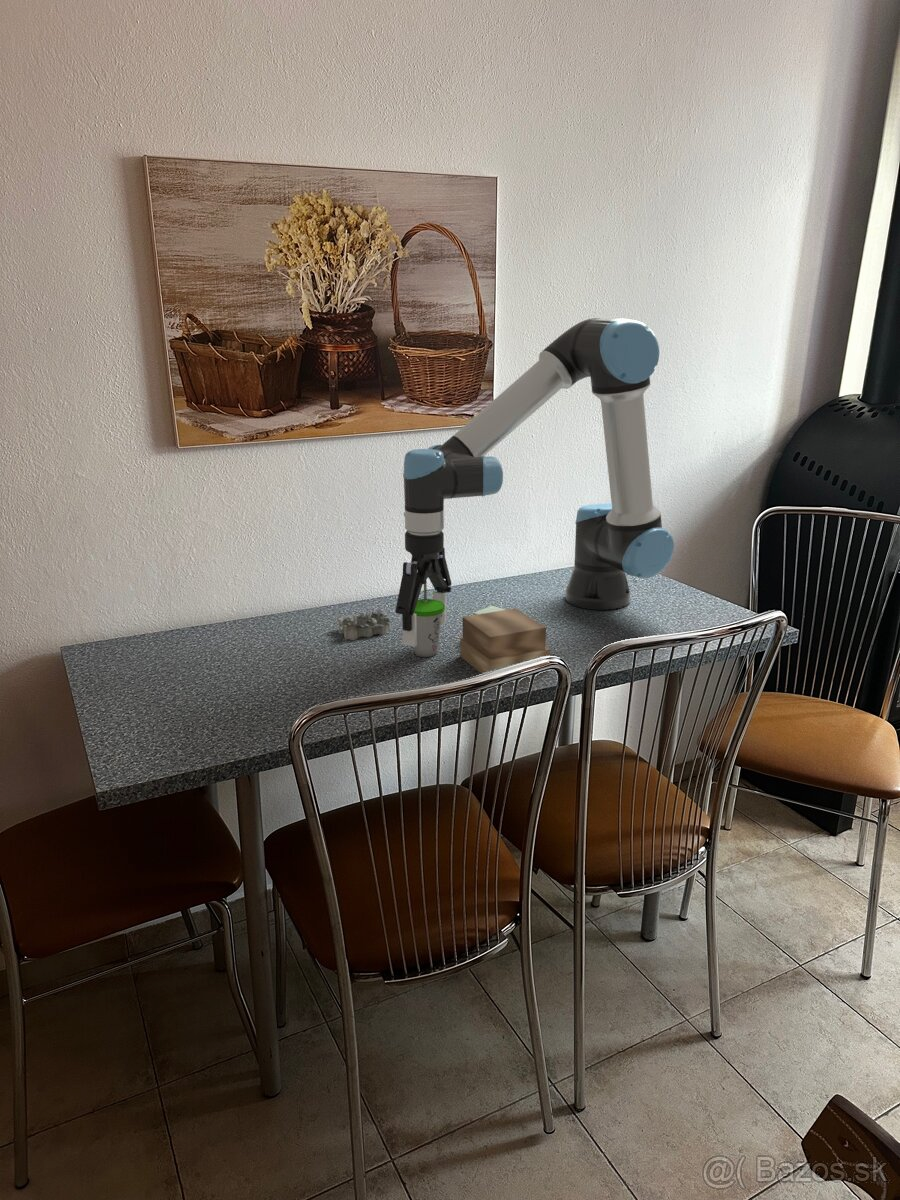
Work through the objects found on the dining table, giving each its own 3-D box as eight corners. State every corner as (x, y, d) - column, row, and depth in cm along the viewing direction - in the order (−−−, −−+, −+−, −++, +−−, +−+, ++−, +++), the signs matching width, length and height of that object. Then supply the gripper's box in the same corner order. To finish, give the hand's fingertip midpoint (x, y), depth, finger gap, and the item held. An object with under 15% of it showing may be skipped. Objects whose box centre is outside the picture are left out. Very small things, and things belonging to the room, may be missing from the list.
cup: (432, 663, 170) (431, 591, 165) (399, 656, 173) (397, 585, 168) (452, 650, 176) (452, 580, 171) (419, 643, 180) (418, 574, 175)
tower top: (515, 628, 176) (515, 608, 175) (545, 649, 166) (546, 627, 165) (462, 638, 172) (462, 616, 170) (490, 659, 161) (490, 637, 160)
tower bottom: (516, 647, 179) (516, 627, 177) (549, 670, 167) (550, 649, 166) (460, 658, 173) (460, 637, 172) (490, 682, 162) (490, 660, 161)
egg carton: (345, 642, 181) (344, 624, 180) (335, 631, 188) (334, 613, 186) (393, 635, 185) (392, 617, 184) (382, 623, 191) (381, 606, 190)
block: (492, 631, 186) (492, 605, 184) (513, 639, 182) (513, 612, 180) (473, 639, 182) (473, 612, 180) (494, 646, 178) (494, 619, 176)
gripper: (434, 515, 178) (435, 611, 185) (375, 544, 157) (378, 651, 164) (467, 518, 175) (466, 616, 182) (412, 548, 154) (413, 658, 161)
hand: (425, 633), depth 173 cm, fingers open, 13 cm apart
